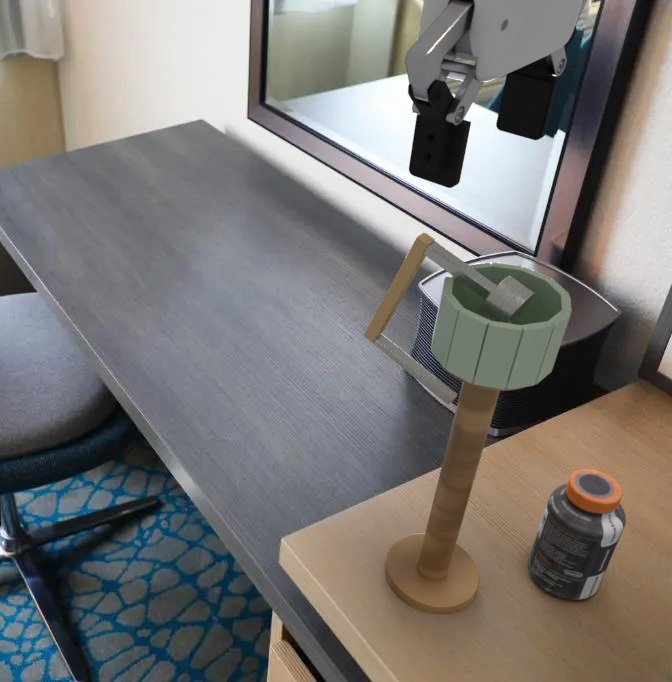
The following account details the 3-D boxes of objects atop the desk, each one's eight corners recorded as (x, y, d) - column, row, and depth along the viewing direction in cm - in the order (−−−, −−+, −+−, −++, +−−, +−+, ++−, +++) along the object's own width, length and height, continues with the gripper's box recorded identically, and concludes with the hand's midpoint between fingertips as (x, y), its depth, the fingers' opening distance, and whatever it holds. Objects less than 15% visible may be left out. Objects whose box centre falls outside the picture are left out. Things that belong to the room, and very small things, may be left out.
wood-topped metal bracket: (542, 286, 52) (439, 214, 55) (518, 306, 50) (414, 231, 54) (462, 392, 61) (377, 324, 64) (440, 412, 59) (354, 342, 63)
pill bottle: (612, 599, 68) (653, 508, 62) (546, 605, 68) (580, 514, 62) (576, 545, 73) (611, 456, 67) (515, 551, 73) (543, 462, 66)
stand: (494, 579, 71) (573, 353, 55) (442, 632, 67) (512, 405, 51) (418, 527, 76) (471, 307, 60) (366, 574, 72) (408, 351, 56)
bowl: (573, 353, 55) (594, 294, 52) (512, 405, 51) (530, 345, 48) (471, 307, 60) (485, 250, 57) (408, 351, 56) (419, 293, 53)
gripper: (558, -179, 46) (498, 105, 56) (375, -147, 38) (343, 181, 48) (695, -177, 41) (602, 132, 52) (521, -141, 33) (451, 222, 43)
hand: (478, 155), depth 50 cm, fingers open, 9 cm apart
